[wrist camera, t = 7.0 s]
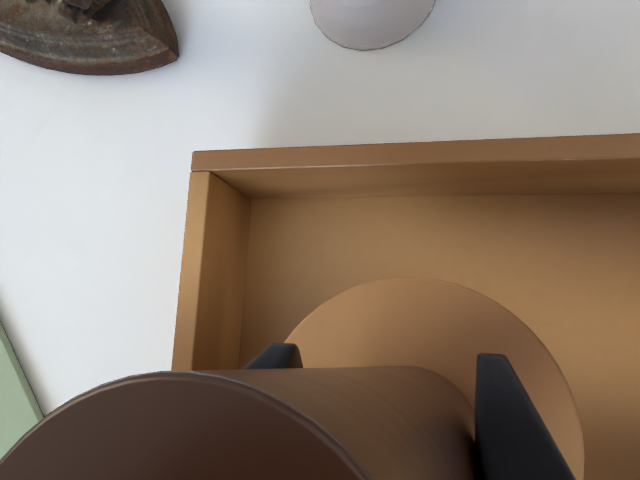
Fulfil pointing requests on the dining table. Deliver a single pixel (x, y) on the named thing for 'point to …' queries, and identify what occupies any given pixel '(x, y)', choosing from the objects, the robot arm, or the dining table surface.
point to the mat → (14, 398)
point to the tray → (429, 252)
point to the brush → (315, 401)
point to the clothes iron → (88, 35)
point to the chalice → (369, 20)
